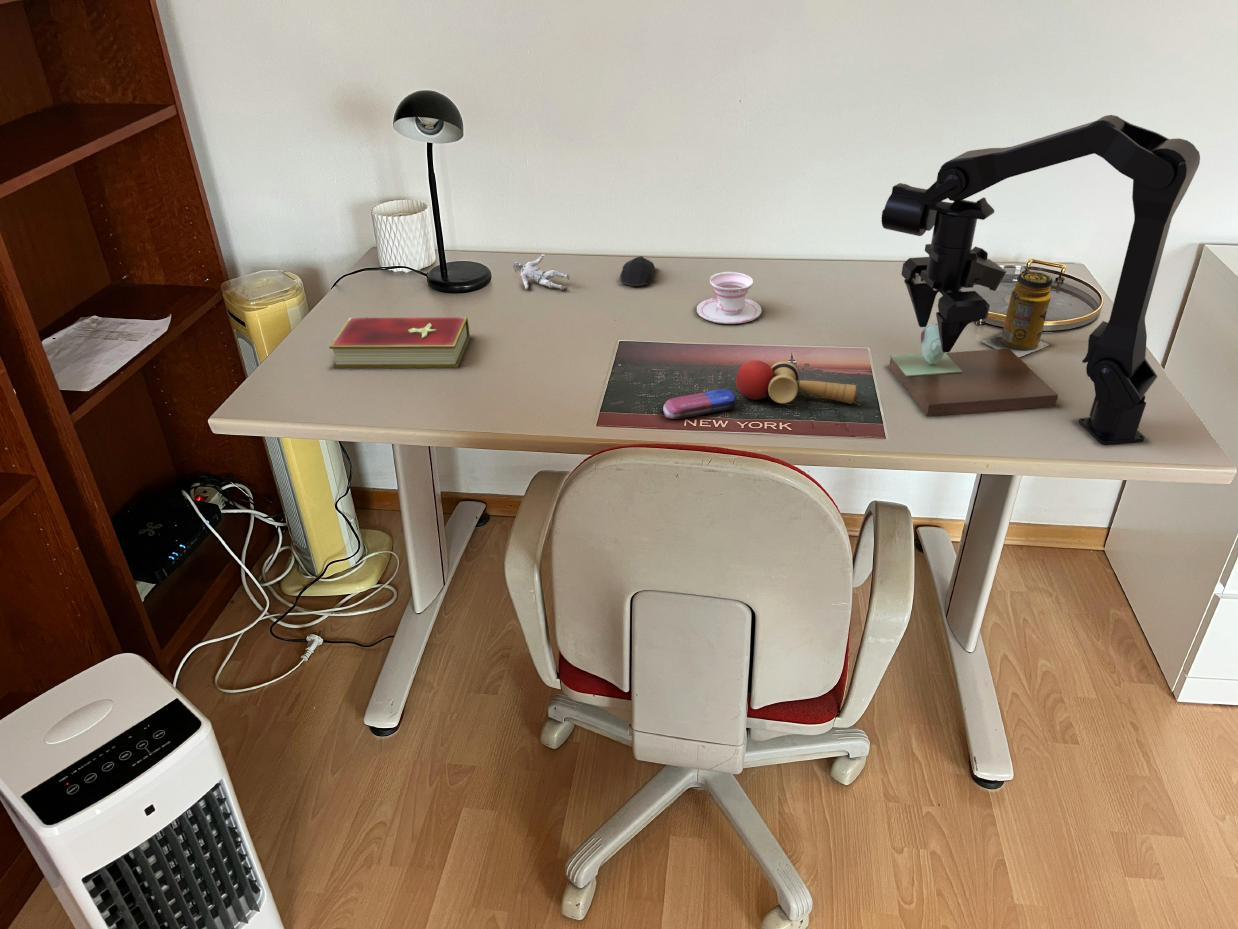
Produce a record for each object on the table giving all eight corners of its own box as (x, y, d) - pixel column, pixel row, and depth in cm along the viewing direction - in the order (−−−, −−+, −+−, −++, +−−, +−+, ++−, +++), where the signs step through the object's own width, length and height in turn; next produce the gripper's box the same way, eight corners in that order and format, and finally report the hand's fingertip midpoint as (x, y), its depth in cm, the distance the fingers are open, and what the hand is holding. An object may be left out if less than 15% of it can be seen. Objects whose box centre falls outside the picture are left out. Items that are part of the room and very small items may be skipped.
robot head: (946, 376, 141) (953, 336, 137) (918, 374, 142) (925, 334, 138) (940, 353, 148) (947, 314, 144) (914, 351, 148) (920, 313, 145)
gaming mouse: (660, 262, 191) (660, 243, 188) (649, 289, 179) (649, 270, 176) (630, 260, 192) (630, 242, 190) (617, 287, 180) (617, 268, 177)
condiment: (1049, 345, 154) (1067, 278, 148) (1017, 358, 150) (1034, 290, 144) (1012, 330, 159) (1028, 265, 153) (981, 343, 155) (995, 276, 149)
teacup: (773, 318, 166) (776, 286, 162) (714, 329, 162) (715, 297, 159) (742, 294, 175) (743, 264, 172) (685, 305, 172) (686, 274, 168)
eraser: (668, 422, 136) (668, 412, 135) (660, 409, 139) (659, 398, 138) (739, 409, 138) (739, 398, 137) (729, 396, 141) (729, 386, 140)
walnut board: (1055, 406, 137) (1058, 393, 136) (926, 416, 135) (929, 403, 134) (1006, 359, 150) (1009, 347, 149) (888, 367, 149) (890, 355, 147)
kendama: (847, 395, 144) (735, 375, 145) (858, 364, 139) (742, 343, 140) (848, 427, 138) (730, 406, 139) (859, 396, 134) (738, 374, 135)
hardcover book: (353, 337, 163) (349, 315, 161) (469, 336, 162) (467, 314, 160) (333, 367, 153) (328, 345, 151) (457, 367, 152) (454, 344, 150)
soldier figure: (554, 301, 177) (501, 275, 179) (558, 308, 182) (506, 283, 184) (572, 266, 178) (519, 241, 180) (576, 275, 183) (524, 250, 184)
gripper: (1035, 261, 126) (1011, 362, 135) (977, 218, 142) (958, 311, 151) (958, 266, 126) (938, 367, 134) (907, 222, 141) (893, 316, 150)
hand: (933, 338), depth 142 cm, fingers open, 9 cm apart
